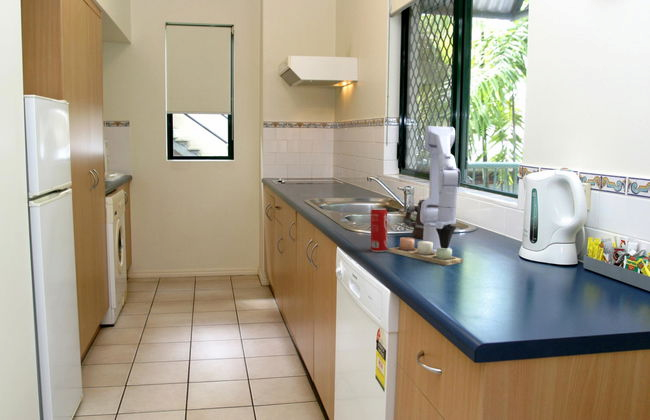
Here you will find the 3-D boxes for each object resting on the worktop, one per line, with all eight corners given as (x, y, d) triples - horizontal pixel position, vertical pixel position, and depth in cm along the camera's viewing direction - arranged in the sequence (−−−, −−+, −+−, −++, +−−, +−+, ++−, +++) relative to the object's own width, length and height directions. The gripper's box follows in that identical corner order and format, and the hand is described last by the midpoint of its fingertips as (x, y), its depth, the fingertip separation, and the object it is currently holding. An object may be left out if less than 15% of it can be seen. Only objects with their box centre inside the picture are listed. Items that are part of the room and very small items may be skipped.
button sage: (442, 257, 205) (443, 247, 204) (454, 260, 201) (455, 249, 201) (432, 259, 202) (433, 248, 201) (445, 261, 198) (445, 251, 197)
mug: (436, 235, 254) (438, 199, 252) (445, 240, 242) (448, 202, 240) (399, 234, 252) (401, 198, 250) (407, 239, 240) (409, 201, 238)
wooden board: (405, 249, 220) (405, 246, 220) (463, 262, 201) (463, 258, 201) (388, 251, 214) (388, 248, 214) (446, 265, 195) (446, 261, 195)
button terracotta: (406, 246, 217) (406, 236, 216) (417, 249, 213) (417, 239, 213) (396, 248, 213) (397, 238, 213) (407, 250, 210) (408, 240, 209)
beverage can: (386, 253, 211) (388, 210, 209) (367, 251, 212) (369, 208, 211) (388, 250, 217) (390, 208, 215) (369, 248, 218) (372, 206, 216)
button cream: (423, 250, 211) (424, 240, 210) (435, 253, 207) (436, 242, 207) (414, 252, 207) (414, 241, 207) (425, 254, 204) (426, 244, 203)
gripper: (442, 203, 207) (440, 243, 209) (427, 207, 195) (424, 249, 197) (463, 205, 204) (460, 245, 206) (449, 209, 191) (446, 252, 193)
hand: (444, 247), depth 201 cm, fingers closed
